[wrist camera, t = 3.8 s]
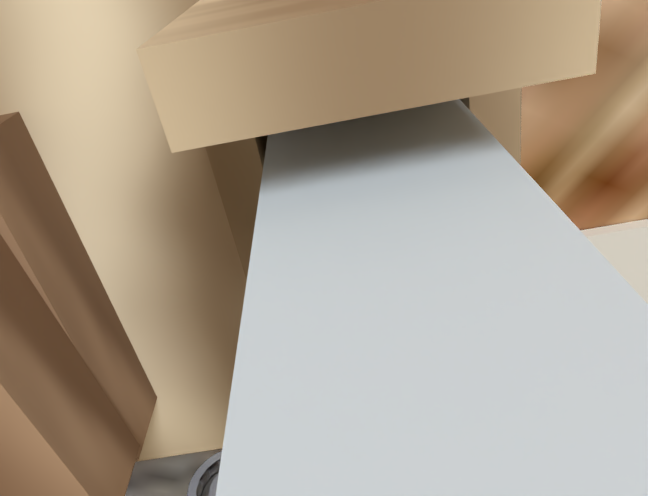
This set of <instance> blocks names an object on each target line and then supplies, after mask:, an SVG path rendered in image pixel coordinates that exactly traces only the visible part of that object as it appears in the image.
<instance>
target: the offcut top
mask: <svg viewBox="0 0 648 496" xmlns="http://www.w3.org/2000/svg"><path fill="white" fill-rule="evenodd" d="M139 447H140V445H139V443H138V442H137V440H136V439H135V437H134V436H133V434H132V433H131V431H130V430H129V428H128V427H127V425H126V424H125V422H124V421H123V419H122V418H121V416H120V415H119V413H118V412H117V410H116V408H115V407H114V405H113V404H112V402H111V401H110V399H109V398H108V396H107V395H106V393H105V392H104V390H103V389H102V387H101V386H100V384H99V383H98V381H97V380H96V378H95V377H94V375H93V374H92V372H91V371H90V369H89V368H88V366H87V365H86V363H85V361H84V360H83V358H82V357H81V355H80V354H79V352H78V351H77V349H76V348H75V346H74V345H73V343H72V342H71V340H70V339H69V337H68V336H67V334H66V333H65V331H64V330H63V328H62V327H61V325H60V324H59V322H58V321H57V319H56V318H55V316H54V314H53V313H52V311H51V310H50V308H49V307H48V305H47V304H46V302H45V301H44V299H43V298H42V296H41V295H40V293H39V292H38V290H37V289H36V287H35V286H34V284H33V283H32V281H31V280H30V278H29V277H28V275H27V274H26V272H25V271H24V269H23V267H22V266H21V264H20V263H19V261H18V260H17V258H16V257H15V255H14V254H13V252H12V251H11V249H10V248H9V246H8V245H7V243H6V242H5V240H4V239H3V237H2V236H1V234H0V496H125V493H126V490H127V487H128V483H129V480H130V477H131V473H132V470H133V467H134V464H135V460H136V457H137V454H138V450H139Z"/></svg>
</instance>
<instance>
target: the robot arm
mask: <svg viewBox="0 0 648 496" xmlns="http://www.w3.org/2000/svg"><path fill="white" fill-rule="evenodd" d="M221 454H222V451H221V452H218V453H216V454H215V455H213V456H212V457H210V458H209V459H208V460H206V461H205V462H204V463H203V464H202V465H201V466H200V467H199V468H198V470H197V471H196V472H195V474H194V476H193V478H192V479H191V481H190V483H189V488H188V493H187V496H216V489H217V482H218V475H219V468H220V461H221Z"/></svg>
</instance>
